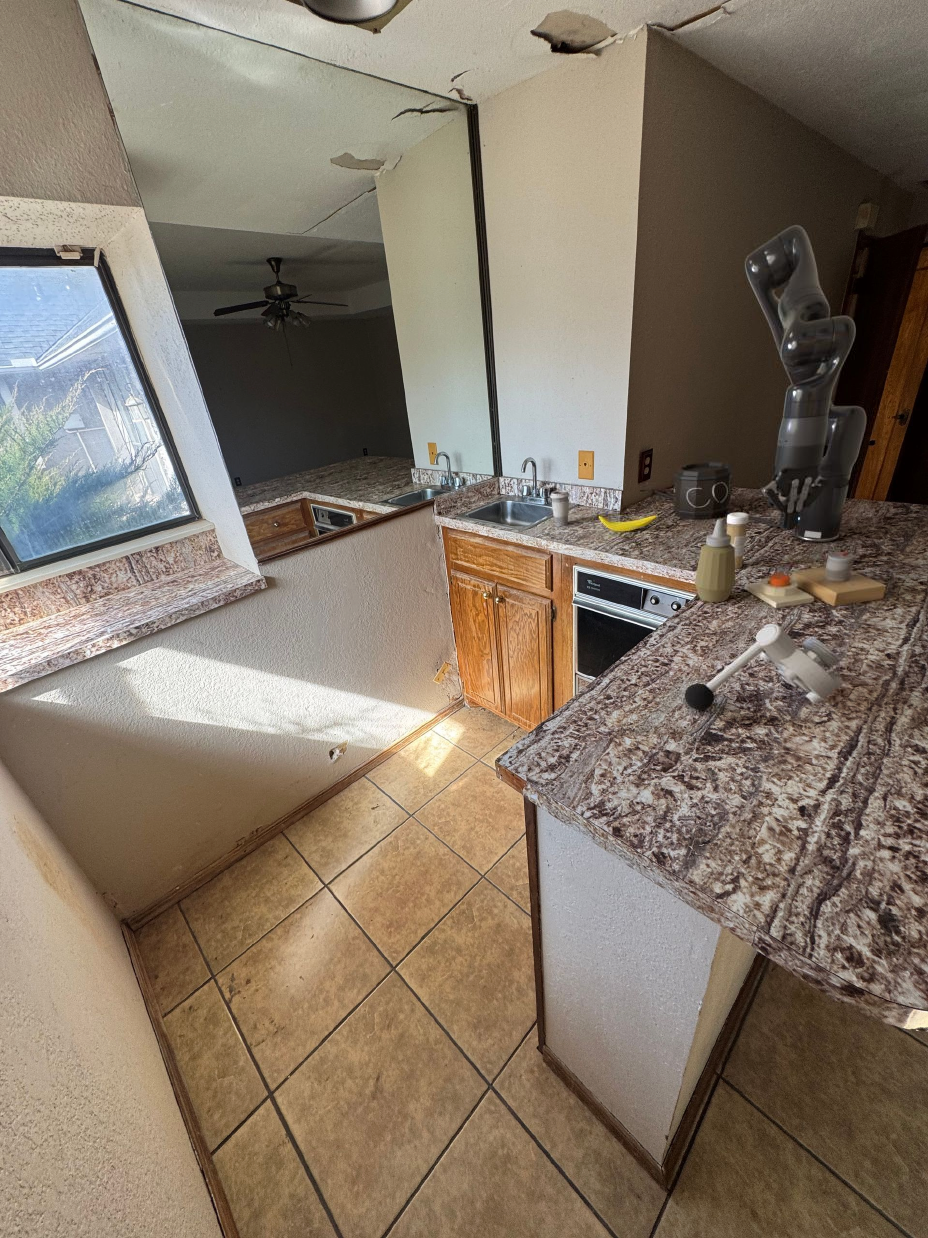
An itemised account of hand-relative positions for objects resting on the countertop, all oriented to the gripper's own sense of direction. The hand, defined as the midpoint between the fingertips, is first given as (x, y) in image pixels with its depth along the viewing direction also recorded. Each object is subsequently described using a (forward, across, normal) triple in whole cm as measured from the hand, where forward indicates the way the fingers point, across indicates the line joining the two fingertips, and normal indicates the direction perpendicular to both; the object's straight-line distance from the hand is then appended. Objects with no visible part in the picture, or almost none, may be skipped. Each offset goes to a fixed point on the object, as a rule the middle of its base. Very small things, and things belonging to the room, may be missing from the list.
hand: (787, 529), depth 98 cm
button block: (+15, 0, 0) cm, 15 cm away
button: (+12, 0, 0) cm, 12 cm away
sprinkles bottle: (+15, +1, +19) cm, 24 cm away
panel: (+15, +11, -2) cm, 19 cm away
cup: (+15, -28, +80) cm, 86 cm away
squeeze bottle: (+15, -12, +4) cm, 20 cm away
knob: (+12, +11, -2) cm, 16 cm away
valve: (+15, -25, -33) cm, 44 cm away
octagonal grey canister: (+15, +18, +67) cm, 71 cm away
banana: (+15, -11, +60) cm, 63 cm away
